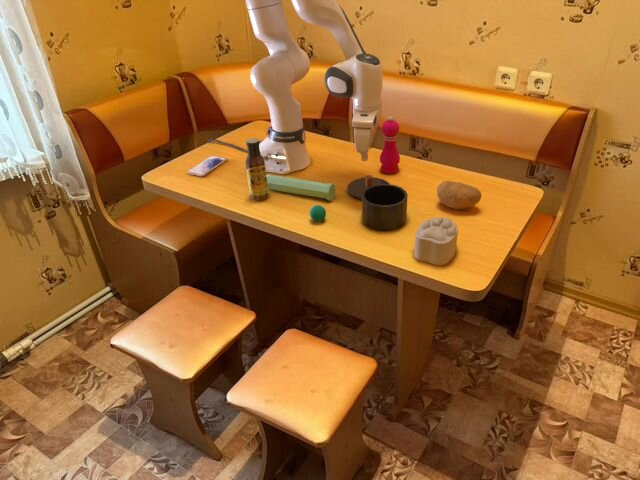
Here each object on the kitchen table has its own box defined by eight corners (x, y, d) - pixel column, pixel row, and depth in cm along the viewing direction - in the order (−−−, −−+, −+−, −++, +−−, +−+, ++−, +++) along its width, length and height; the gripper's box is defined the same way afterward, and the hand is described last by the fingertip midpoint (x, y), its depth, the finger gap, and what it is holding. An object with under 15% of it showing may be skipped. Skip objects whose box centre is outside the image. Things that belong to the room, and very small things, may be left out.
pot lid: (343, 199, 163) (342, 185, 160) (351, 178, 174) (351, 165, 171) (387, 203, 161) (387, 188, 158) (393, 181, 172) (394, 168, 169)
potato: (475, 218, 152) (479, 195, 147) (431, 209, 157) (433, 187, 152) (482, 203, 159) (486, 181, 154) (440, 195, 164) (442, 173, 159)
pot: (358, 229, 149) (357, 204, 144) (366, 205, 160) (366, 182, 154) (403, 233, 147) (404, 208, 142) (408, 209, 157) (409, 185, 152)
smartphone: (226, 158, 187) (202, 175, 176) (227, 160, 188) (202, 177, 177) (211, 154, 189) (186, 171, 179) (211, 157, 190) (186, 173, 179)
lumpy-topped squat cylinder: (410, 257, 137) (411, 231, 132) (427, 234, 146) (430, 208, 141) (445, 267, 133) (448, 241, 128) (461, 243, 142) (465, 217, 137)
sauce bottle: (253, 203, 162) (243, 146, 150) (248, 194, 167) (238, 138, 154) (272, 198, 164) (264, 142, 152) (266, 190, 169) (258, 134, 156)
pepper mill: (400, 174, 176) (401, 120, 164) (379, 175, 176) (380, 120, 164) (399, 165, 182) (401, 112, 170) (379, 165, 182) (379, 112, 170)
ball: (308, 223, 152) (307, 209, 149) (312, 215, 156) (311, 201, 152) (324, 225, 151) (323, 211, 148) (328, 216, 155) (327, 202, 152)
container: (261, 173, 166) (329, 183, 158) (270, 172, 171) (336, 182, 163) (260, 190, 167) (327, 202, 160) (269, 189, 173) (334, 200, 165)
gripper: (363, 99, 159) (363, 140, 168) (350, 123, 144) (351, 167, 152) (382, 100, 158) (381, 141, 167) (372, 125, 143) (371, 168, 151)
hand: (367, 153), depth 159 cm, fingers open, 8 cm apart
